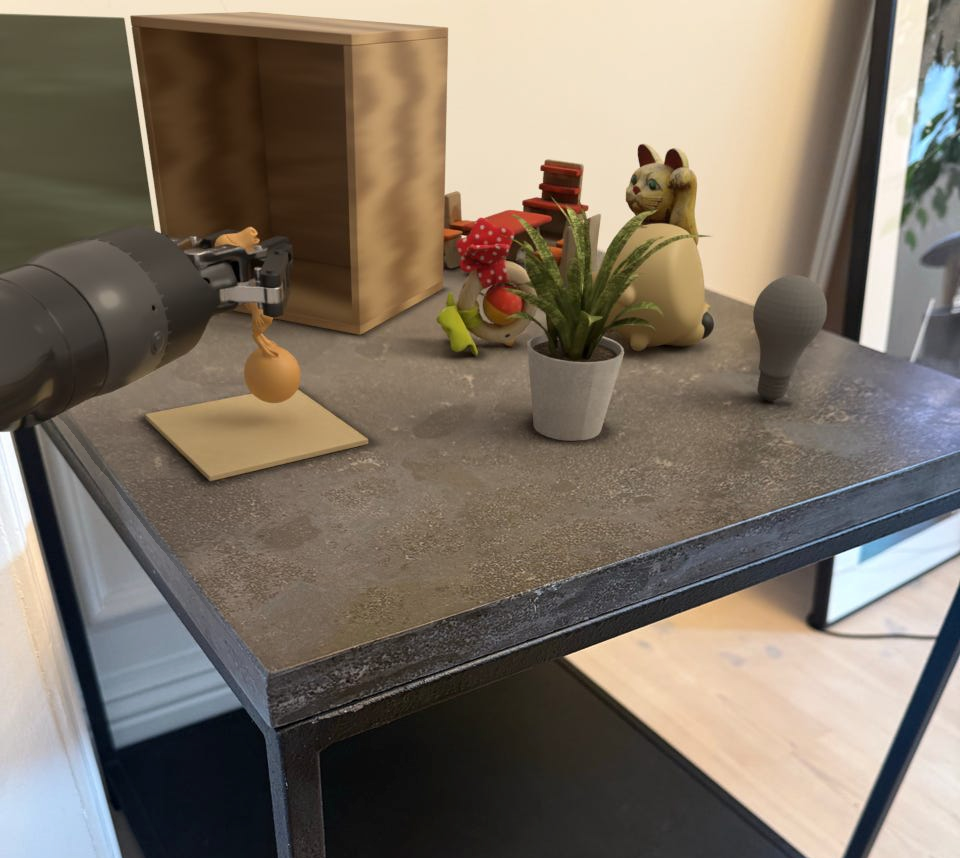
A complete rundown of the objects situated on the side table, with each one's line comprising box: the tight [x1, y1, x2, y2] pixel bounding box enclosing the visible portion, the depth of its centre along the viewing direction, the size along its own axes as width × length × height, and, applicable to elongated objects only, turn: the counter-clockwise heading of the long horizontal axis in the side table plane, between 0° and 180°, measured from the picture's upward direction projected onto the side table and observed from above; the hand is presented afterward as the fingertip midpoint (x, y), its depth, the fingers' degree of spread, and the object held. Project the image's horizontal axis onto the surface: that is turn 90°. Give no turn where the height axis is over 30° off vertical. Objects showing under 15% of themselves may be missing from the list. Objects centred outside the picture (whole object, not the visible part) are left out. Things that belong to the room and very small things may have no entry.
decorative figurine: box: [625, 143, 699, 247], centre depth 97 cm, size 10×8×15 cm
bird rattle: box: [436, 217, 538, 357], centre depth 84 cm, size 6×11×9 cm
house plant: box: [502, 198, 713, 442], centre depth 68 cm, size 14×14×16 cm
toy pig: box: [592, 223, 715, 352], centre depth 87 cm, size 10×12×11 cm
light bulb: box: [752, 274, 828, 402], centre depth 76 cm, size 6×6×10 cm
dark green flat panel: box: [0, 13, 156, 271], centre depth 85 cm, size 7×22×23 cm, turn 112°
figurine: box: [215, 227, 302, 403], centre depth 65 cm, size 8×6×12 cm
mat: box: [144, 388, 369, 482], centre depth 69 cm, size 12×12×1 cm
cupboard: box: [129, 11, 449, 336], centre depth 91 cm, size 18×22×24 cm
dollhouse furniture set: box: [443, 158, 602, 292], centre depth 109 cm, size 19×19×10 cm
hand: (259, 248), depth 65 cm, fingers open, 3 cm apart
